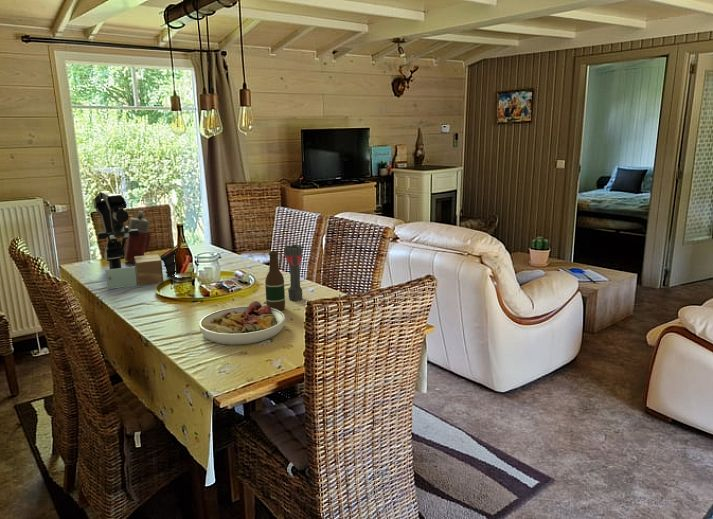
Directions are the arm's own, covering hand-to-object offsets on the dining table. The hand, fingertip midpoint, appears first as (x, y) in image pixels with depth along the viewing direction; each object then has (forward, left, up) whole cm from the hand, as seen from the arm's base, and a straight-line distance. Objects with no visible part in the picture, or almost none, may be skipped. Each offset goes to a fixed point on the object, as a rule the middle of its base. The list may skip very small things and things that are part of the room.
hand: (120, 251), depth 269 cm
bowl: (+105, +34, -14) cm, 111 cm away
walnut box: (+14, +11, -13) cm, 22 cm away
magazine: (+10, +24, -13) cm, 29 cm away
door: (+23, -1, -13) cm, 26 cm away
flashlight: (+76, +64, -13) cm, 100 cm away
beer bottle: (+87, +52, -13) cm, 102 cm away
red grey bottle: (-31, +8, -12) cm, 34 cm away
